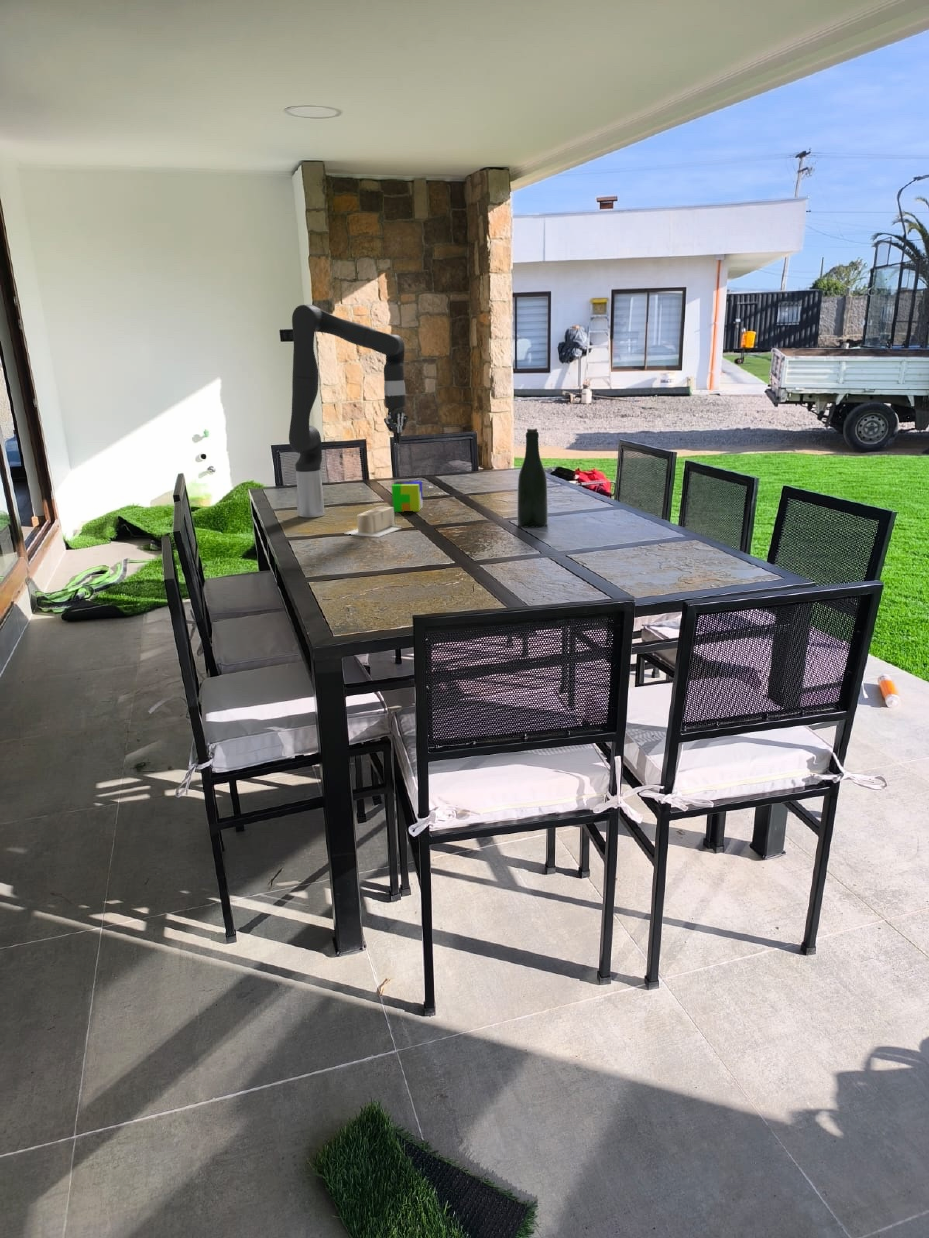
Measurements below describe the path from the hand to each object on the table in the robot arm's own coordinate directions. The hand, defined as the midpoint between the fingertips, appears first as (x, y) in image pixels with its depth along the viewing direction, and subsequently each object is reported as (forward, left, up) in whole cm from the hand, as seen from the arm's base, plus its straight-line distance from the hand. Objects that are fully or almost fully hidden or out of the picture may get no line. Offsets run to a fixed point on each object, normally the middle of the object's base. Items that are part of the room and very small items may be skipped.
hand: (397, 443), depth 302 cm
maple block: (+4, -15, -23) cm, 28 cm away
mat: (+4, -24, -27) cm, 36 cm away
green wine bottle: (+51, +5, -27) cm, 58 cm away
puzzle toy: (-6, +14, -27) cm, 31 cm away
